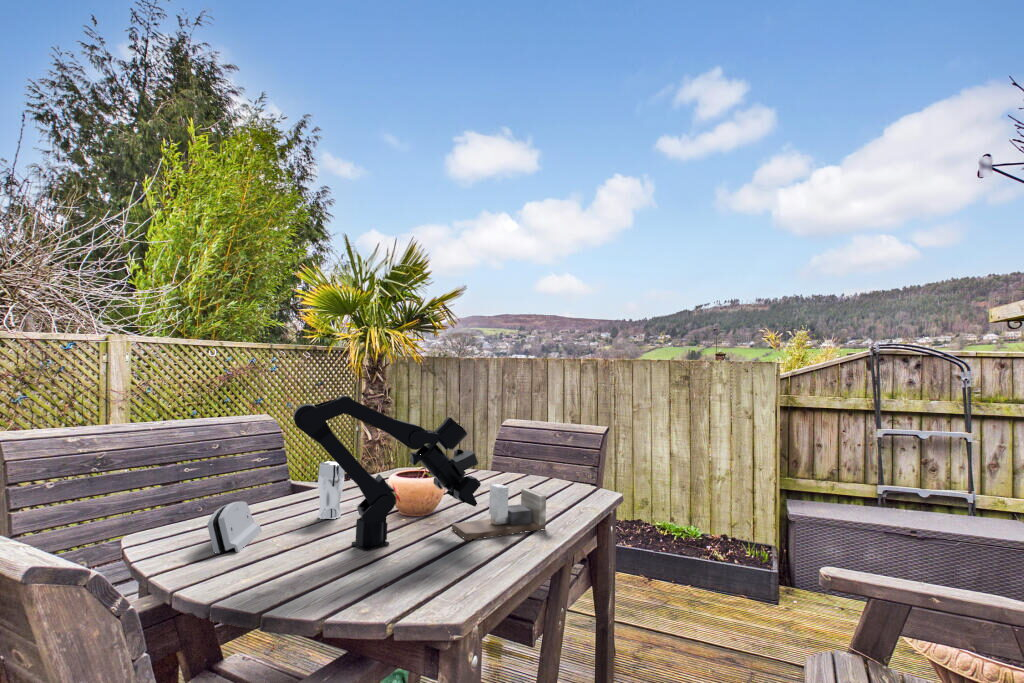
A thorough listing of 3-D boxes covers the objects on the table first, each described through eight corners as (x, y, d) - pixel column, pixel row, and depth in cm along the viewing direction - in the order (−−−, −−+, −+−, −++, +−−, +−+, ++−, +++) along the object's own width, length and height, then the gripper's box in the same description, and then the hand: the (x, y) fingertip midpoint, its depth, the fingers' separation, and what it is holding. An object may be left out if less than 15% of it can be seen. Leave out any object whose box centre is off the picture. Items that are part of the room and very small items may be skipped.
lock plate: (466, 540, 126) (468, 503, 126) (451, 529, 135) (453, 494, 135) (545, 529, 137) (546, 495, 137) (526, 520, 146) (527, 488, 146)
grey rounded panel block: (238, 553, 112) (224, 510, 113) (215, 561, 112) (202, 518, 112) (262, 530, 129) (250, 493, 129) (243, 537, 128) (231, 499, 128)
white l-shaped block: (497, 526, 133) (498, 488, 133) (488, 521, 137) (490, 484, 138) (530, 521, 137) (531, 485, 138) (521, 517, 142) (522, 481, 143)
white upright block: (337, 521, 139) (339, 465, 140) (311, 520, 139) (314, 464, 140) (345, 514, 146) (348, 461, 147) (321, 513, 146) (324, 460, 147)
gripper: (475, 445, 123) (512, 488, 128) (446, 436, 140) (481, 475, 144) (442, 479, 119) (483, 523, 123) (417, 466, 135) (453, 505, 140)
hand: (475, 504), depth 133 cm, fingers closed
